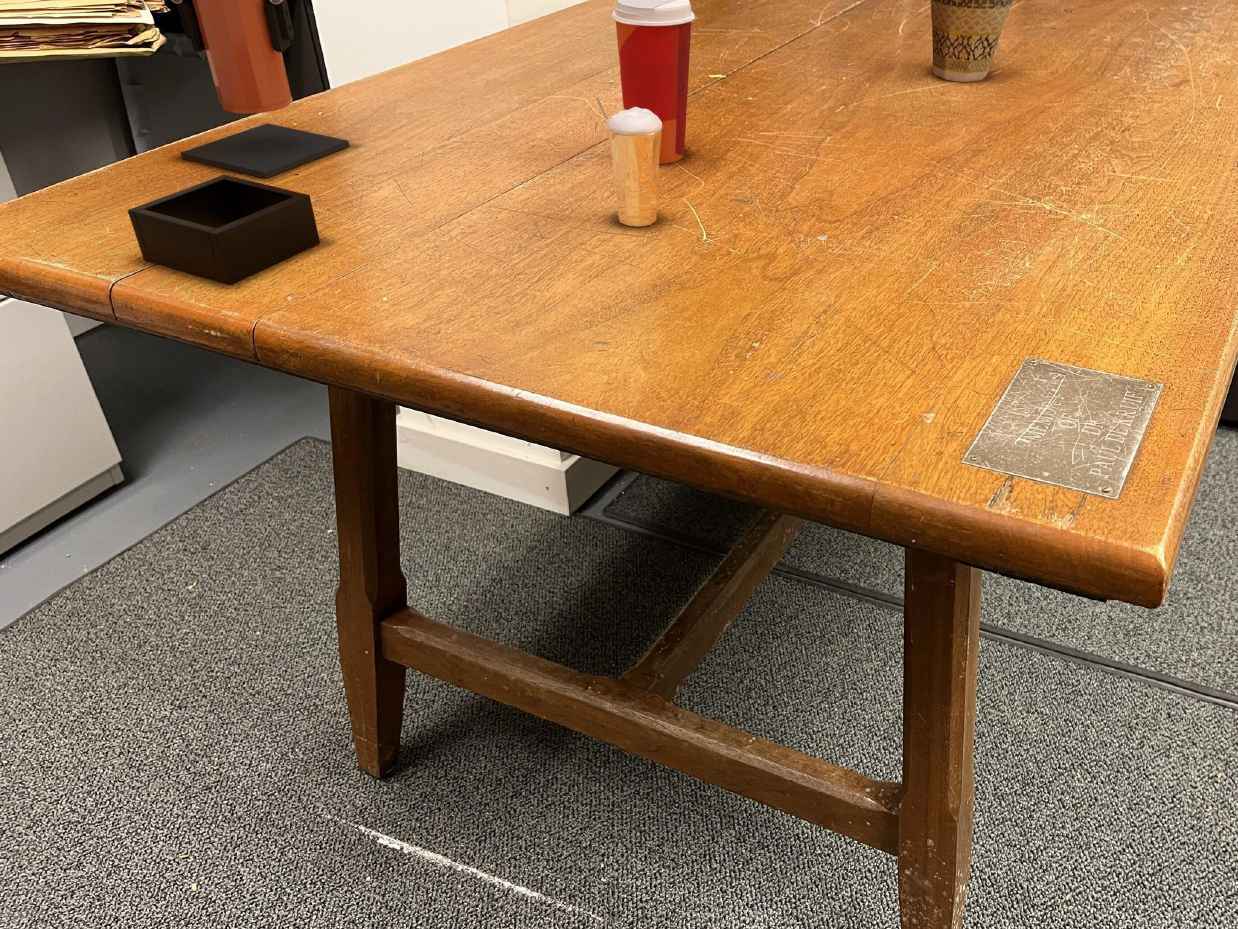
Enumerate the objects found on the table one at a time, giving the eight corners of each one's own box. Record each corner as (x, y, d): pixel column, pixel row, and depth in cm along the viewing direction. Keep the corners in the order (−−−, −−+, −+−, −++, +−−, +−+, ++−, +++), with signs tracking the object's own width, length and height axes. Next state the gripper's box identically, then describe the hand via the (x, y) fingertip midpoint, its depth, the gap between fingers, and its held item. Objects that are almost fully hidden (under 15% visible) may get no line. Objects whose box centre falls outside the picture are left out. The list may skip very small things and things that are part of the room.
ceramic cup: (992, 89, 128) (1007, -3, 121) (911, 79, 130) (922, -11, 124) (1010, 64, 137) (1026, -22, 131) (935, 56, 140) (946, -29, 134)
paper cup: (659, 137, 110) (656, -12, 101) (710, 156, 106) (712, 1, 97) (600, 153, 106) (592, -1, 97) (651, 173, 101) (648, 13, 93)
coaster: (181, 158, 102) (179, 152, 101) (268, 128, 110) (267, 122, 109) (265, 178, 98) (264, 172, 98) (349, 146, 106) (348, 140, 105)
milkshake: (608, 208, 94) (603, 89, 88) (667, 212, 93) (666, 93, 87) (596, 227, 90) (590, 105, 84) (658, 231, 90) (656, 109, 84)
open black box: (143, 259, 83) (126, 209, 81) (236, 221, 90) (224, 174, 87) (230, 285, 80) (215, 233, 77) (320, 243, 86) (309, 194, 84)
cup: (206, 107, 100) (174, -11, 94) (258, 90, 104) (230, -23, 98) (256, 117, 98) (226, -2, 92) (306, 100, 102) (282, -15, 96)
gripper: (57, -184, 84) (131, 58, 95) (280, -181, 84) (328, 59, 95) (97, -191, 89) (162, 38, 101) (305, -188, 90) (347, 39, 101)
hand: (243, 46), depth 98 cm, fingers closed on cup, 6 cm apart
